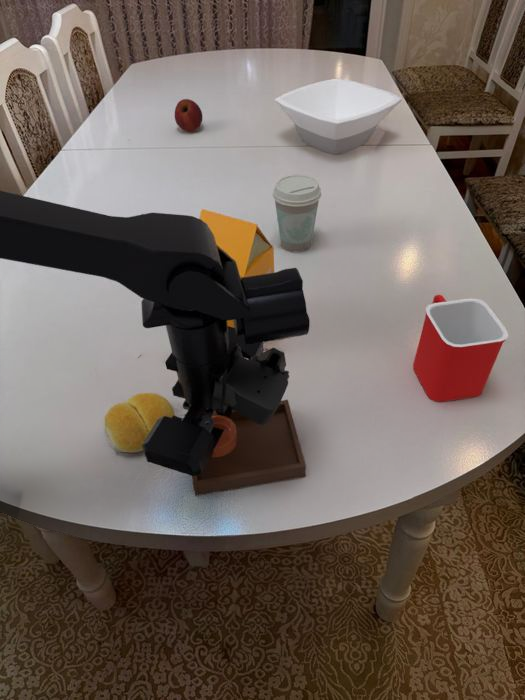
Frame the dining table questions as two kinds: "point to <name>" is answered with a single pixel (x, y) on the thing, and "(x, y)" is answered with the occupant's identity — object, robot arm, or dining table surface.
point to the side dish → (224, 435)
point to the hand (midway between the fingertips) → (216, 437)
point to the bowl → (337, 113)
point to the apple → (188, 115)
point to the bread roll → (135, 420)
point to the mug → (457, 348)
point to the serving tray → (255, 455)
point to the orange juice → (241, 244)
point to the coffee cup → (296, 210)
